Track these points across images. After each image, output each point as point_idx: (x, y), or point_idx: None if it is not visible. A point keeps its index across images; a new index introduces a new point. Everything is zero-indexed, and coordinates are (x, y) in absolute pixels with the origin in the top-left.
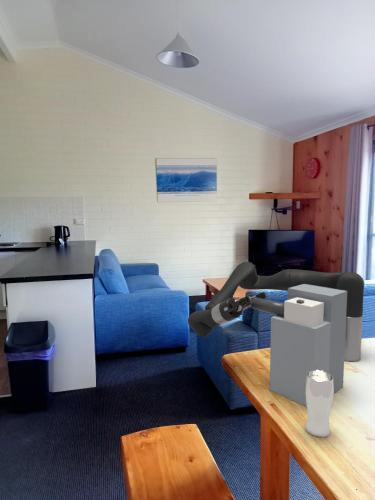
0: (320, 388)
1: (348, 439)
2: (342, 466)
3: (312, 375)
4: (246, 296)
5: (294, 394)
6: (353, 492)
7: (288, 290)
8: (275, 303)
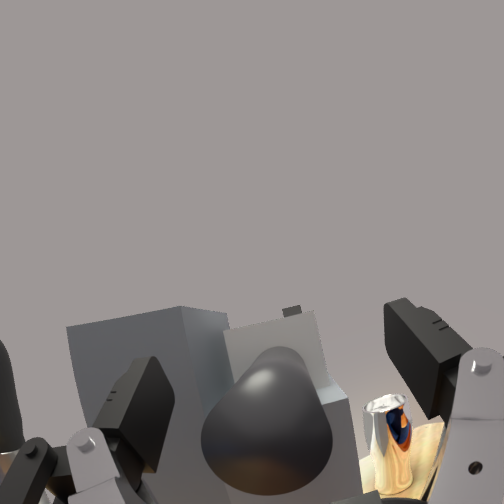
0: (400, 403)
1: (369, 470)
2: (417, 443)
3: (382, 421)
4: (405, 300)
5: None
6: (431, 424)
7: (183, 317)
8: (286, 354)
